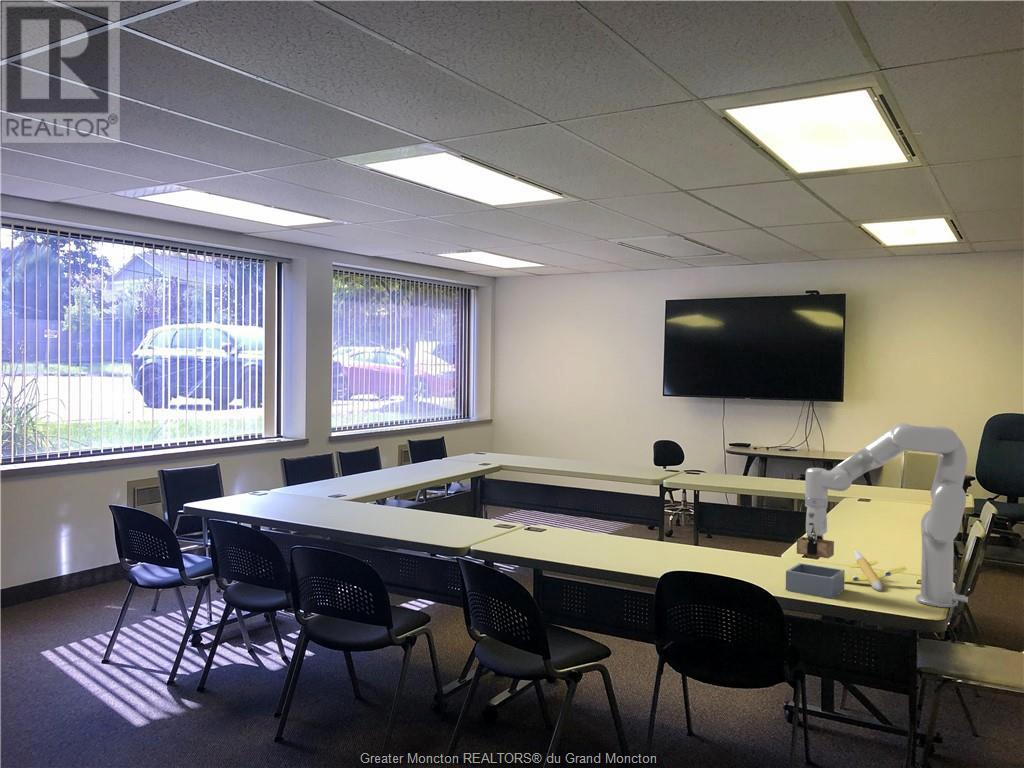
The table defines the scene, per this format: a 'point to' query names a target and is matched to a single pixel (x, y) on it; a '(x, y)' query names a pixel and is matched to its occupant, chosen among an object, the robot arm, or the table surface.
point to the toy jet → (870, 572)
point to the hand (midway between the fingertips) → (815, 551)
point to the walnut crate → (823, 547)
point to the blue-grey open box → (815, 580)
